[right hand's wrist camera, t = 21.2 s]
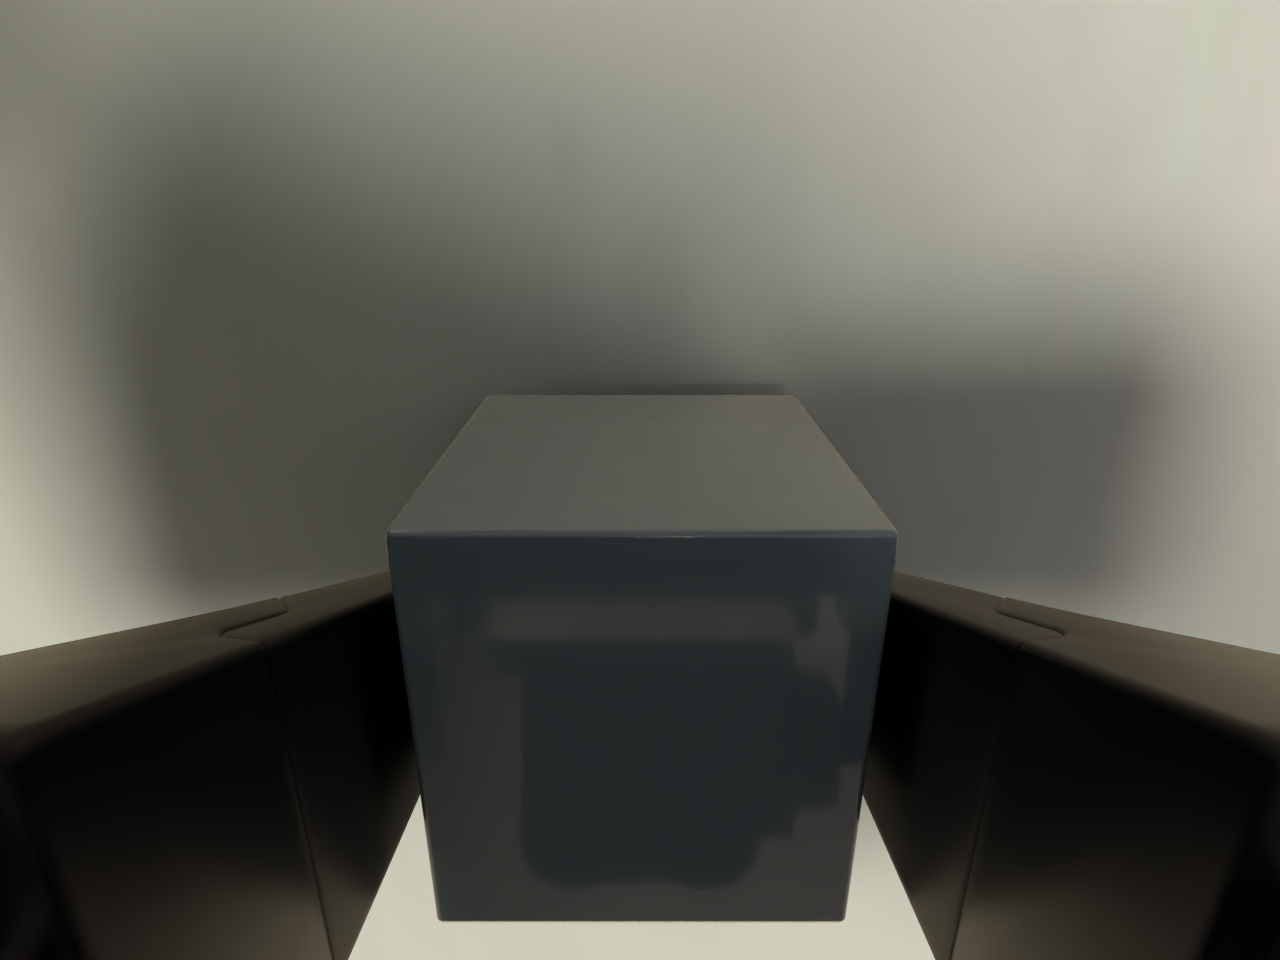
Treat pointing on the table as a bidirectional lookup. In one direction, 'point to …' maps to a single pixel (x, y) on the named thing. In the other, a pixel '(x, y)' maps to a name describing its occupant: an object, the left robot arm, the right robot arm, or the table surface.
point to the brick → (641, 659)
